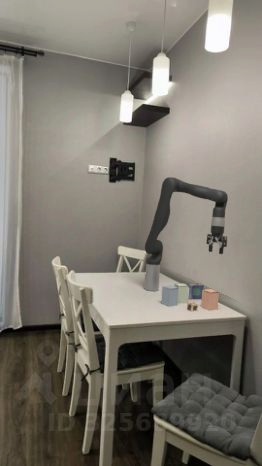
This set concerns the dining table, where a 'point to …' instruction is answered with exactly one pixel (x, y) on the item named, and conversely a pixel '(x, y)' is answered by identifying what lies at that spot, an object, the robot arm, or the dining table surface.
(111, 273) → the dining table surface
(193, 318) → the dining table surface
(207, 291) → the peach pink block
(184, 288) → the pale green bevelled block
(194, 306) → the tan cube
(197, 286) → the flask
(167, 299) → the blue grey bevelled block
